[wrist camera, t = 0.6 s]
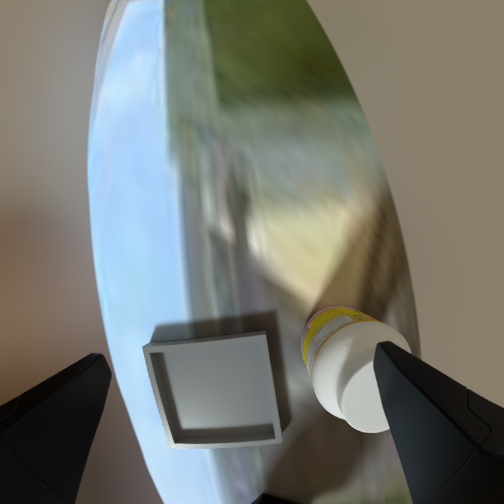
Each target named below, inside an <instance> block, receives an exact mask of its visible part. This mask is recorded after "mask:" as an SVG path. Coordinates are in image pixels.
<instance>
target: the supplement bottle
mask: <svg viewBox="0 0 504 504" xmlns="http://www.w3.org/2000/svg"><path fill="white" fill-rule="evenodd" d="M383 341H391V342H393V343H394V344H396V345H398V346H399V347H401V348H402V349H404V350H406V351H407V352H409V353H411V350H410V347H409V345H408V343H407V341H406V340H405V338H404V337H403V336H402V335H401V334H400V333H399V332H398V331H397V330H395V329H394V328H392V327H390V326H389V325H387V324H384V323H382V322H380V321H378V320H376V319H374V318H372V317H371V316H368V315H367V314H364V313H363V312H361V311H358V310H356V309H354V308H351V307H348V306H342V305H337V306H331V307H327V308H325V309H322V310H321V311H319V312H318V313H316V314H315V315H314V316H313V317H312V318H311V319H310V320H309V321H308V323H307V324H306V326H305V328H304V330H303V333H302V336H301V352H302V356H303V359H304V362H305V365H306V367H307V370H308V373H309V376H310V379H311V382H312V385H313V388H314V391H315V394H316V396H317V399H318V400H319V402H320V403H321V405H322V406H323V407H324V408H325V409H326V410H327V411H328V412H329V413H331V414H333V415H334V416H336V417H338V418H341V419H345V420H346V421H347V422H348V423H349V425H351V426H352V427H353V428H355V429H357V430H359V431H362V432H367V433H376V432H382V431H385V430H388V429H390V428H389V425H388V422H387V419H386V416H385V414H384V410H383V407H382V403H381V399H380V395H379V390H378V386H377V382H376V378H375V373H374V369H373V360H374V355H375V349H376V345H377V343H378V342H383Z"/></svg>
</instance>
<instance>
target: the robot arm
mask: <svg viewBox="0 0 504 504" xmlns="http://www.w3.org/2000/svg"><path fill="white" fill-rule="evenodd" d="M373 369H374V373H375V378H376V382H377V386H378V390H379V395H380V399H381V403H382V407H383V410H384V414H385V416H386V419H387V422H388V425H389V428H390V431H391V434H392V437H393V440H394V442H395V446H396V449H397V452H398V455H399V458H400V461H401V464H402V467H403V471H404V474H405V477H406V480H407V484H408V487H409V491H410V494H411V498H412V501H413V504H504V408H503V407H501V406H499V405H497V404H495V403H493V402H491V401H489V400H487V399H485V398H483V397H481V396H480V395H478V394H476V393H475V392H473V391H472V390H470V389H467V388H466V387H465V386H463V385H461V384H460V383H458V382H456V381H455V380H453V379H451V378H450V377H448V376H447V375H445V374H443V373H442V372H440V371H439V370H437V369H435V368H434V367H432V366H430V365H429V364H427V363H425V362H424V361H422V360H420V359H419V358H417V357H416V356H414V355H412V354H411V353H409V352H407V351H406V350H404V349H402V348H401V347H399V346H398V345H396V344H394V343H393V342H391V341H383V342H378V343H377V345H376V349H375V355H374V360H373ZM111 375H112V374H111V370H110V368H109V366H108V363H107V361H106V359H105V357H104V355H103V354H101V353H91V354H89V355H87V356H86V357H84V358H82V359H81V360H79V361H77V362H75V363H74V364H72V365H70V366H69V367H67V368H65V369H63V370H62V371H60V372H58V373H57V374H55V375H53V376H52V377H50V378H48V379H46V380H45V381H43V382H41V383H40V384H38V385H36V386H34V387H33V388H31V389H29V390H28V391H26V392H24V393H22V394H21V395H20V396H17V397H15V398H14V399H12V400H10V401H8V402H7V403H5V404H3V405H1V406H0V504H75V502H76V498H77V494H78V491H79V487H80V483H81V480H82V476H83V473H84V469H85V466H86V463H87V459H88V456H89V453H90V449H91V446H92V443H93V440H94V437H95V434H96V431H97V428H98V425H99V422H100V419H101V416H102V413H103V410H104V406H105V401H106V397H107V393H108V389H109V385H110V381H111V377H112V376H111ZM253 504H296V503H293V502H289V501H286V500H282V499H279V498H276V497H273V496H270V495H267V494H263V495H261V496H260V497H259V498H258V499H257V500H256V501H255V502H254V503H253Z"/></svg>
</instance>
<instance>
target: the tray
mask: <svg viewBox="0 0 504 504" xmlns="http://www.w3.org/2000/svg"><path fill="white" fill-rule="evenodd" d="M142 348H143V353H144V357H145V361H146V366H147V370H148V374H149V378H150V382H151V385H152V389H153V393H154V397H155V400H156V404H157V407H158V410H159V414H160V417H161V420H162V424H163V427H164V430H165V433H166V436H167V439H168V442H169V445H170V448H233V447H248V446H259V445H269V444H278V443H283V437H282V428H281V422H280V415H279V409H278V403H277V396H276V390H275V384H274V377H273V371H272V364H271V358H270V352H269V345H268V339H267V333H266V330H260V331H253V332H246V333H238V334H230V335H222V336H214V337H204V338H195V339H184V340H173V341H161V342H149V343H148V344H146V345H145V346H143V347H142Z"/></svg>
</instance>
